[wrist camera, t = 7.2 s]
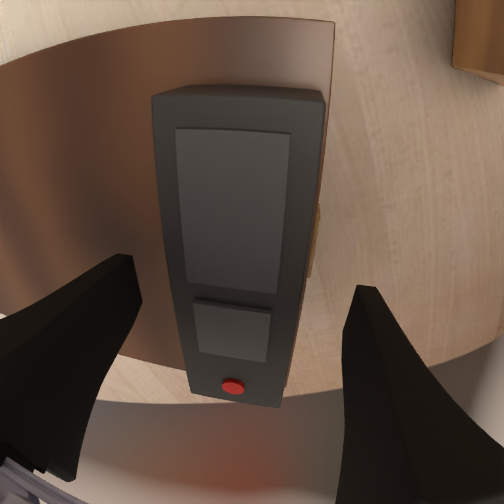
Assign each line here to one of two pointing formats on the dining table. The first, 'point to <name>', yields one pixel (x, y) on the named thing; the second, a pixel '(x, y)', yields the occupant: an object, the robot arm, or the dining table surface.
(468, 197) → the dining table surface
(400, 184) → the dining table surface
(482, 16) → the stand
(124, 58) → the box
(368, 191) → the dining table surface
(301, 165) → the remote
